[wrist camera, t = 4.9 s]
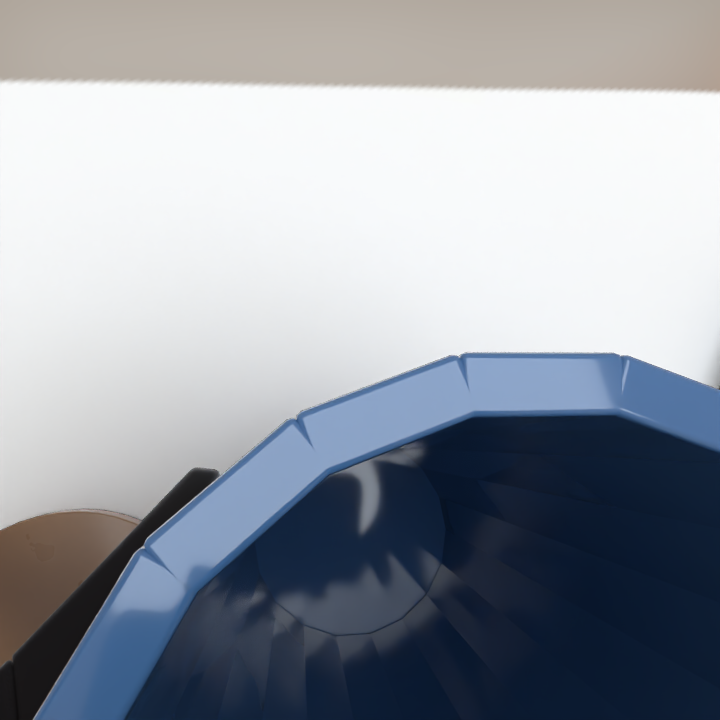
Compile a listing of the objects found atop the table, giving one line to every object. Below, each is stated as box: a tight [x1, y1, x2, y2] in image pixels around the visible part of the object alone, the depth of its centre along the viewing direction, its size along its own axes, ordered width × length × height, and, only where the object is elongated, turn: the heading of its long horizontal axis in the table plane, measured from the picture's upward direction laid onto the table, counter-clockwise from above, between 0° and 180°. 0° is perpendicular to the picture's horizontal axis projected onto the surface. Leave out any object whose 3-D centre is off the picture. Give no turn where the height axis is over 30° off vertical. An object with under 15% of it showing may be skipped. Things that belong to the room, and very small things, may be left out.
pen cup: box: [33, 352, 720, 720], centre depth 9 cm, size 6×6×12 cm
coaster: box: [0, 509, 141, 667], centre depth 14 cm, size 8×8×1 cm
